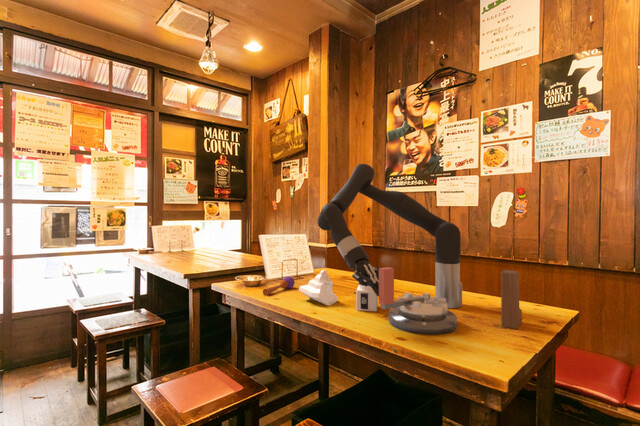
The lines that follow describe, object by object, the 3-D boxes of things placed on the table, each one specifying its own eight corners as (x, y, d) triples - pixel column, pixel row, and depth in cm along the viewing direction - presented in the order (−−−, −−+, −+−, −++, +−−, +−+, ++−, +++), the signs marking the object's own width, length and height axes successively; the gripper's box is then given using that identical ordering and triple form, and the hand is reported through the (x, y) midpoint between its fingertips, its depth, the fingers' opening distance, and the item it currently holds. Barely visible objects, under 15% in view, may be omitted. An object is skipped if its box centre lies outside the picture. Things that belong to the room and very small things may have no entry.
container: (376, 311, 125) (376, 277, 125) (356, 310, 127) (356, 276, 127) (377, 306, 133) (377, 273, 133) (358, 305, 134) (358, 272, 134)
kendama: (259, 286, 152) (286, 275, 168) (262, 299, 151) (288, 287, 168) (269, 285, 148) (295, 274, 165) (271, 298, 148) (297, 286, 165)
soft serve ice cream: (320, 299, 149) (328, 268, 150) (340, 310, 137) (348, 276, 137) (297, 295, 142) (305, 263, 143) (315, 307, 130) (324, 271, 131)
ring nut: (421, 304, 123) (421, 259, 123) (457, 316, 109) (457, 265, 109) (365, 314, 111) (365, 265, 111) (399, 329, 97) (399, 272, 97)
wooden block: (507, 319, 116) (506, 268, 116) (521, 322, 113) (521, 269, 113) (500, 326, 109) (501, 271, 109) (516, 329, 106) (516, 273, 106)
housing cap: (437, 312, 125) (437, 303, 125) (470, 333, 103) (470, 322, 103) (380, 314, 122) (380, 305, 122) (402, 336, 100) (402, 325, 100)
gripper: (358, 257, 121) (385, 297, 113) (333, 260, 112) (361, 305, 104) (370, 243, 118) (399, 284, 109) (346, 246, 108) (376, 291, 100)
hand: (381, 294), depth 106 cm, fingers closed
